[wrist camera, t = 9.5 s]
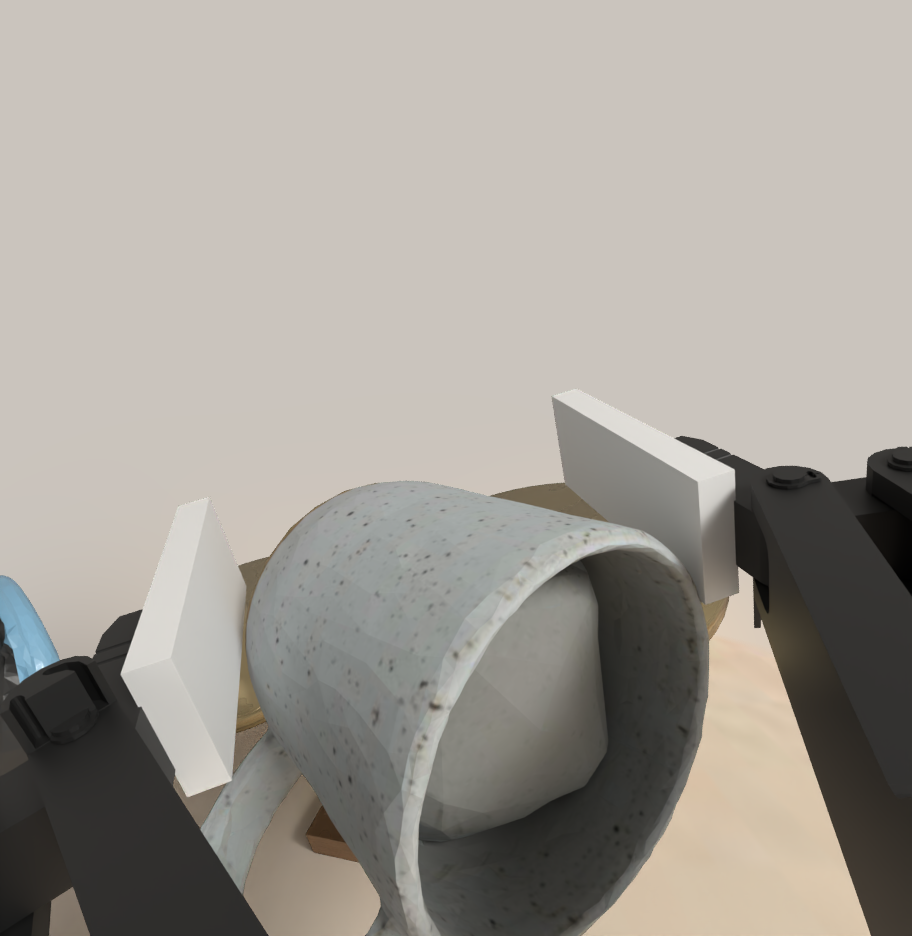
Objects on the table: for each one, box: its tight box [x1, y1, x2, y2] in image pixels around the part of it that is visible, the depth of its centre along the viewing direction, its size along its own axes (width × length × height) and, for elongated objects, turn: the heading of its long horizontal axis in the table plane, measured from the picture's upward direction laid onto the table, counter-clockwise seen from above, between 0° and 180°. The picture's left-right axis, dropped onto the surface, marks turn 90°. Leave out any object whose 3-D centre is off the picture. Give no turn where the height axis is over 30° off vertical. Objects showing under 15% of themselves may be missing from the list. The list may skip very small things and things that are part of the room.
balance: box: [236, 483, 729, 862], centre depth 36 cm, size 35×16×18 cm, turn 71°
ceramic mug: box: [200, 481, 709, 936], centre depth 13 cm, size 11×8×8 cm
